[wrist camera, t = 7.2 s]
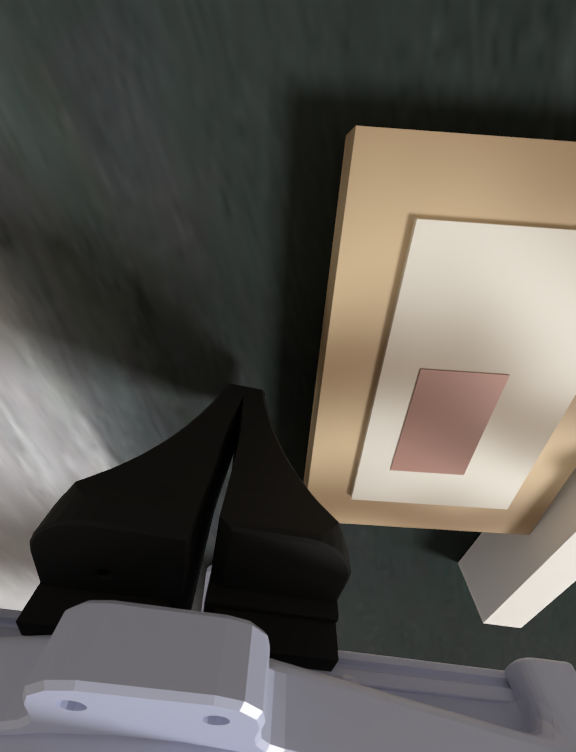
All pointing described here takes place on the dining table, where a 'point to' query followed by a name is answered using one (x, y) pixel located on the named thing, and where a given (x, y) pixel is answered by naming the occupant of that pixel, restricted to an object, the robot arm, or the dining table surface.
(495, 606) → the rail
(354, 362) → the frame
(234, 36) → the dining table surface
